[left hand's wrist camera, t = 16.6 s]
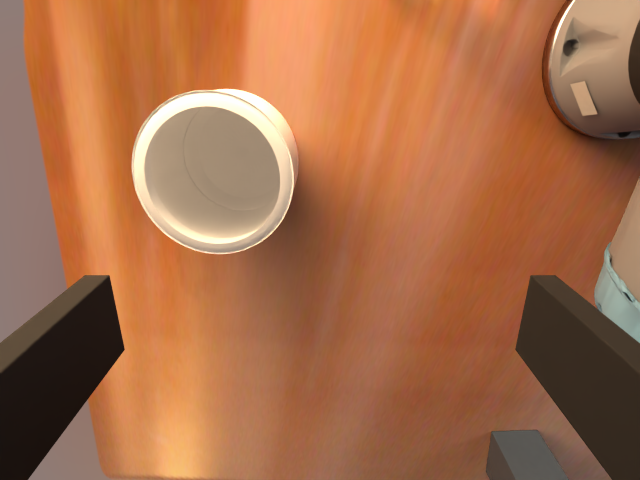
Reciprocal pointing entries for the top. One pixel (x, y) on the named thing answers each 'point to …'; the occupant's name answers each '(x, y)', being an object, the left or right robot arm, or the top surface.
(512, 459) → the brick
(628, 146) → the top surface
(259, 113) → the jar
